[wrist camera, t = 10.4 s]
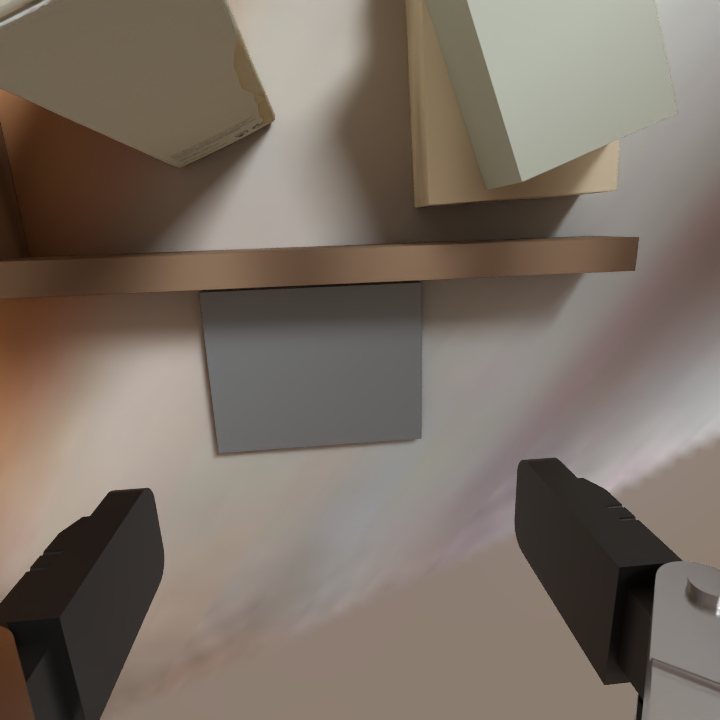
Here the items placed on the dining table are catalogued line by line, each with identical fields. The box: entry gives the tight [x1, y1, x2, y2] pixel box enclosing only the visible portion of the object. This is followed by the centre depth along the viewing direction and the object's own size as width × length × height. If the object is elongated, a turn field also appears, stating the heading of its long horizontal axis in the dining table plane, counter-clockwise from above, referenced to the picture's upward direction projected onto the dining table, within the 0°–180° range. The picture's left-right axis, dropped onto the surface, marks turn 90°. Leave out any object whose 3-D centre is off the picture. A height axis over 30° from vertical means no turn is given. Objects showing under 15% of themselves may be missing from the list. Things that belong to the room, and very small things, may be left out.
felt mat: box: [199, 282, 422, 453], centre depth 21 cm, size 9×7×1 cm
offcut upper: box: [425, 0, 678, 190], centre depth 15 cm, size 5×7×3 cm
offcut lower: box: [406, 0, 620, 208], centre depth 18 cm, size 7×9×3 cm
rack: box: [0, 123, 639, 299], centre depth 16 cm, size 24×15×3 cm, turn 92°
